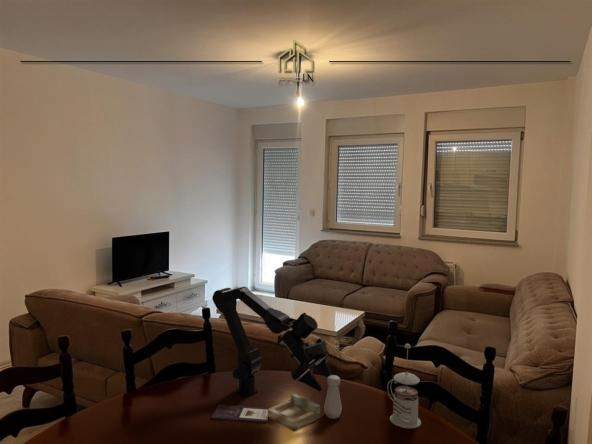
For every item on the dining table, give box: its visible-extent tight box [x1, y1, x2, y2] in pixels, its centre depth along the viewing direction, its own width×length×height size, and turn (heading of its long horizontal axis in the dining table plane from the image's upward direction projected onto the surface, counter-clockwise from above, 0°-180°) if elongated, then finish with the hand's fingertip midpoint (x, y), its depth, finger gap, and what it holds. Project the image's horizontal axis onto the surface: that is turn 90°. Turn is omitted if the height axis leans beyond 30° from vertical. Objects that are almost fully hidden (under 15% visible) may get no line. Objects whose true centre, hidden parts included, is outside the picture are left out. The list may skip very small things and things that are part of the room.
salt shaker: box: [323, 374, 342, 420], centre depth 139 cm, size 6×6×13 cm
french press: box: [386, 343, 422, 429], centre depth 138 cm, size 10×12×25 cm
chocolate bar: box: [210, 403, 270, 424], centre depth 140 cm, size 9×1×18 cm
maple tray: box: [268, 393, 321, 432], centre depth 138 cm, size 12×12×4 cm
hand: (326, 385), depth 140 cm, fingers open, 9 cm apart
